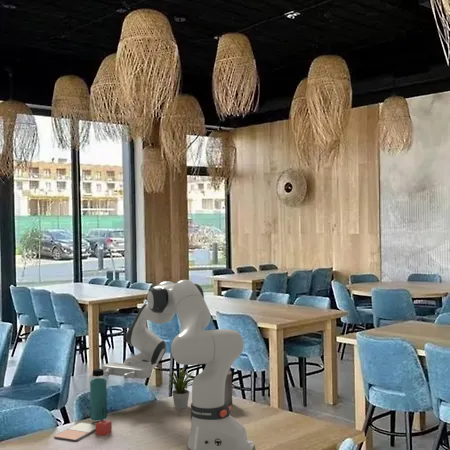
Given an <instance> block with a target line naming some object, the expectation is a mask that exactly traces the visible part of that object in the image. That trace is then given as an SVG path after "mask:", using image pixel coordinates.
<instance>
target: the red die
mask: <svg viewBox="0 0 450 450" xmlns="http://www.w3.org/2000/svg"><path fill="white" fill-rule="evenodd" d="M95 424H96V431H95V435H97V436H104V437H105V436H108V435H109V434H111V433H112V420H106V419H104V420H98V422H96V423H95Z"/></svg>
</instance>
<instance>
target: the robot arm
mask: <svg viewBox="0 0 450 450" xmlns="http://www.w3.org/2000/svg"><path fill="white" fill-rule="evenodd" d="M204 296H205V295H204V291H203V288H202V287H201V285H200V284H197V283H194V282H193V281H192V280H190V279H181V280H179V281H177V282H175V283H174V282H172V281H167V280H165V281H162V282H160V283H158V285H154V286H153V287H151V288H150V289H149V290H148V292H147V299H146V300H147V302H146V303H144V304H143V305H142V306H141V307H140V309H139V310H138V313H137V314H136V316H135V318H134V320H133V321H132V324H131V326H130V327H129V328H128V329H127V331H126V333H125V340H126V343H127V344H129V345H130V346H132V347H134V349H136V350H137V351H139V352H140V353H138V354H134V355H132V356H130V357H128V358H126V359H124V361H123V363H122V362H116V361H115V362H109V363H105V364H103V365H102V367H101V369H103V373H104V375H103V376H106V377H108V376H117V377H124V379H140V380H141V379H142V380H145V379H148V378H151V377H152V370H154V369H155V368H156V367H157V366H158V364H159V363H160V361H161V360H162V359H163V357H164V355H165V353H166V349H167V348H166V342H165V340H163V339H162V338H161V337H159V336H158V335H157V334H155V333H154V332H153V331H151V330H150V329H149V328H148V327H147V326H146V325H145V324H146V323H147V321H149V322H152V323H154V324H156V325H157V324H160V325H162V324H166V323H169V322H170V321H172V320H173V319H174V317H175V315H177V318H178V320H179V324H180V331H179V332H178V334H177V335H176V336H175V337H174V339H173V340H172V343H171V346H170V351H171V356H172V358H173V359H174V361H175V362H176V363H177V364H179V365H186V366H194V365H195V366H197V365H204V364H206V365H205V367H204V369H203V370H202V371H201V372H200V373H198V374H196V375H195V377H194V380H192V383H191V384H192V385H191V403H190V420H191V425H190V432H189V436H188V437H189V438H188V441H187V448H188V449H189V450H254V448H255V445H254V444H255V443H254V441H253V440H250V439H248V435H247V430H246V428H245V426H244V425H242V424H241V423H240V422H238V420H237V419H235V418H234V417H233V416H232V415H231V413H230V411H231V410H232V405H231V406H229V407H228V406H227V405H226V404H225V402H224V396H225V381H226V377H227V374H228V371H229V370H231V367H232V365H233V364H234V363H235V361H237V359H239V357H240V356H241V355H242V353H243V351H244V346H245V345H244V339H243V337H242V335H241V333H239V331H238V330H236V329H235V330H234V329H228V328H222V329H221V328H219V329H209V330H208V329H206V328H207V327H208V326H209V324H210V322H211V317H212V314H211V311H210V309H209V307H208V305H207V303H206V301H205V297H204Z"/></svg>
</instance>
